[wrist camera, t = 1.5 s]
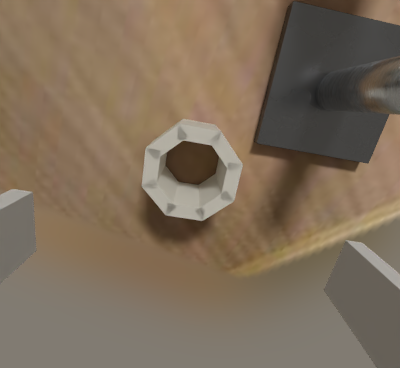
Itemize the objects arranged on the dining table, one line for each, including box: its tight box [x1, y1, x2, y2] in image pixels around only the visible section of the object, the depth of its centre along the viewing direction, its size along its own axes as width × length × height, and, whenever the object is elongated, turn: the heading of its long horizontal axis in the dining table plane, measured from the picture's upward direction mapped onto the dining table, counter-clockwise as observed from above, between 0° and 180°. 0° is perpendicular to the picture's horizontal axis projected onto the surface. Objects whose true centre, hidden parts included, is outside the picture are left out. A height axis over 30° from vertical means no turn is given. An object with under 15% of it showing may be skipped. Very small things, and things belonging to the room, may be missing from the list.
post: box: [254, 1, 400, 163], centre depth 16 cm, size 12×12×15 cm
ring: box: [142, 119, 243, 221], centre depth 22 cm, size 8×8×6 cm
